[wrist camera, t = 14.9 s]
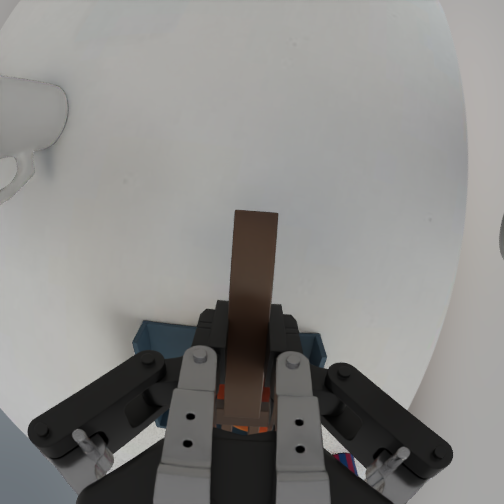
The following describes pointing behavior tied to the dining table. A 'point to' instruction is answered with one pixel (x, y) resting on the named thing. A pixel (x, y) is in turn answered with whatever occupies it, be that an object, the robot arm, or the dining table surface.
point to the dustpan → (180, 339)
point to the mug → (28, 124)
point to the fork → (248, 320)
